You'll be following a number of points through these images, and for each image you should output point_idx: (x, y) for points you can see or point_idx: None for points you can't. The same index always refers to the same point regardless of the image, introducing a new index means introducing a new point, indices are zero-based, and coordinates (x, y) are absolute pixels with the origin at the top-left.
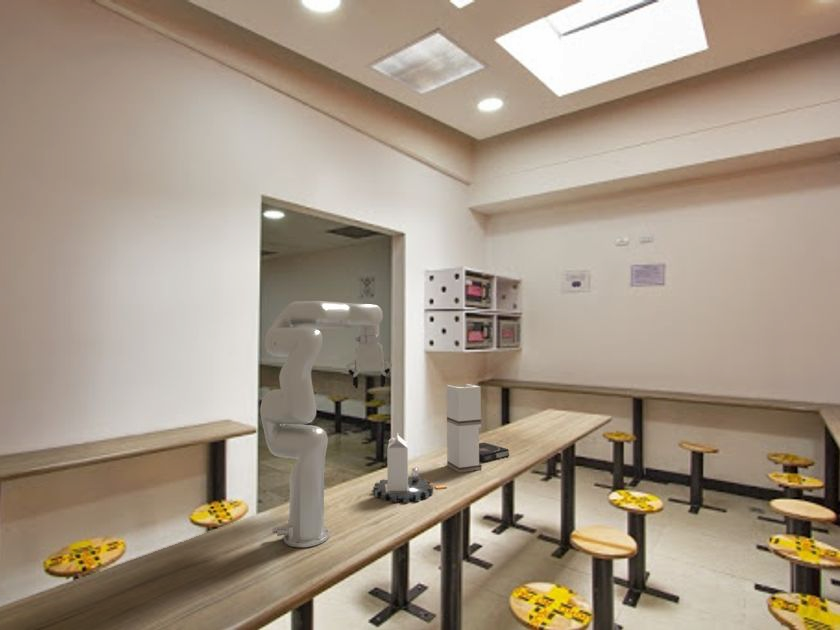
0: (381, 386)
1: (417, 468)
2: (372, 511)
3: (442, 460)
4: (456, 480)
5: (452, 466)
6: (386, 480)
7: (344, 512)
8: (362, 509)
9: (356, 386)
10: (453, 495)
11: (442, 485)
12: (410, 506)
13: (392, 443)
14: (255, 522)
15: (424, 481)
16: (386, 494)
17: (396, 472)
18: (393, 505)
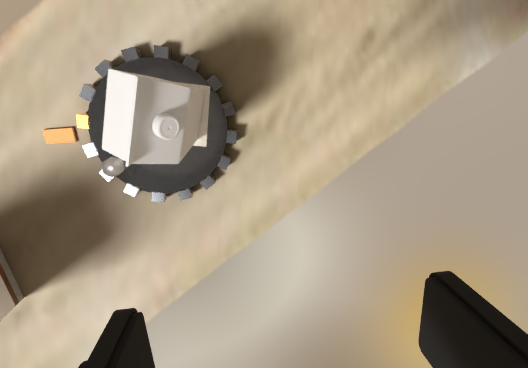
0: (145, 328)
1: (103, 171)
2: (252, 18)
3: (33, 336)
4: (10, 181)
5: (7, 274)
6: (198, 180)
7: (314, 31)
8: (273, 38)
9: (452, 279)
10: (31, 71)
11: (53, 142)
12: (156, 23)
13: (166, 91)
14: (492, 28)
15: (98, 149)
16: (210, 77)
17: (173, 82)
18: (198, 43)
